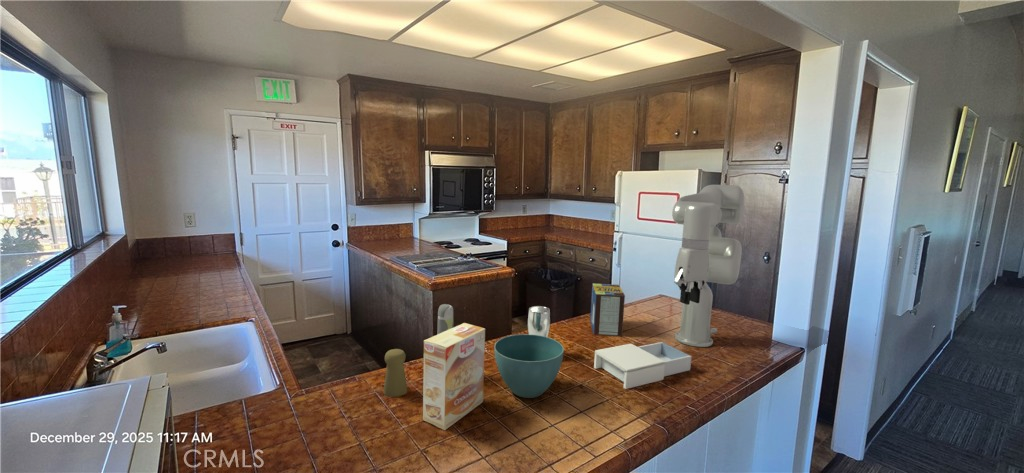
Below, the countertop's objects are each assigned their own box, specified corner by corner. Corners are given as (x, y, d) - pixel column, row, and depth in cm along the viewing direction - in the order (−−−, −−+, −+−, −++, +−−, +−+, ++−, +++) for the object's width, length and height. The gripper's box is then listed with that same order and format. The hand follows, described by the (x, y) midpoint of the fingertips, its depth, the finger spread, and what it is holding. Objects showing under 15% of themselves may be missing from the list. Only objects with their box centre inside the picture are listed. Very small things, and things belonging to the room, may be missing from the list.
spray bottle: (457, 372, 123) (458, 305, 120) (443, 378, 119) (444, 309, 116) (446, 367, 126) (447, 301, 123) (432, 372, 123) (433, 304, 120)
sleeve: (629, 360, 135) (631, 343, 134) (663, 379, 123) (665, 361, 122) (593, 367, 129) (595, 350, 128) (625, 389, 117) (626, 370, 116)
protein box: (616, 322, 170) (619, 284, 168) (622, 336, 155) (625, 295, 153) (589, 320, 171) (592, 282, 169) (593, 334, 156) (595, 293, 154)
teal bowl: (481, 398, 109) (482, 353, 107) (508, 369, 126) (509, 329, 124) (550, 415, 103) (552, 367, 101) (568, 382, 119) (571, 340, 118)
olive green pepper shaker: (411, 387, 114) (411, 348, 112) (398, 398, 108) (398, 357, 106) (392, 383, 115) (391, 344, 114) (378, 394, 110) (377, 353, 108)
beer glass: (523, 356, 135) (525, 310, 133) (530, 348, 142) (532, 304, 140) (544, 360, 133) (546, 314, 131) (551, 352, 139) (553, 307, 137)
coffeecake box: (445, 431, 95) (446, 347, 92) (421, 420, 99) (421, 339, 96) (484, 402, 108) (486, 327, 105) (462, 393, 111) (463, 321, 109)
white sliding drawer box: (660, 354, 140) (661, 341, 139) (690, 370, 129) (691, 356, 128) (601, 367, 129) (602, 353, 128) (628, 385, 118) (629, 370, 118)
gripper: (703, 241, 138) (698, 296, 140) (665, 243, 130) (660, 302, 133) (724, 245, 131) (718, 303, 134) (685, 247, 124) (679, 309, 126)
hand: (689, 302), depth 133 cm, fingers open, 3 cm apart
